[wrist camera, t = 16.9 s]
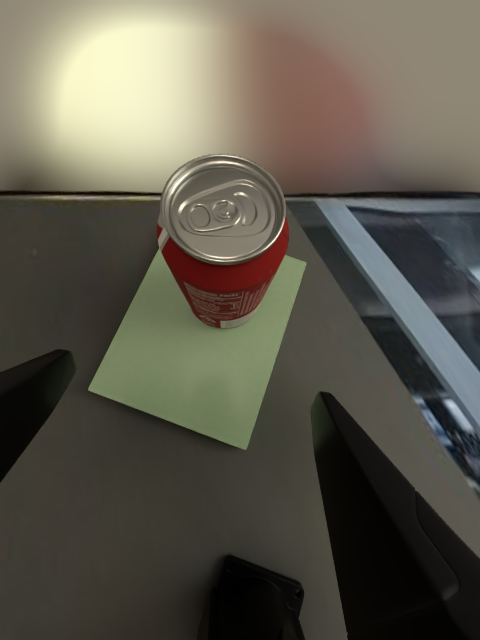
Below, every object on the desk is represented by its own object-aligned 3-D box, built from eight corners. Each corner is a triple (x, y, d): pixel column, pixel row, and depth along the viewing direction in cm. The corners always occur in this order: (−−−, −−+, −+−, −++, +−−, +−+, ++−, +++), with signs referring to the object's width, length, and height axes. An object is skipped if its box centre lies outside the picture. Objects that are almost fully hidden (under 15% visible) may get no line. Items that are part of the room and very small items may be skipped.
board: (301, 269, 25) (306, 262, 23) (244, 445, 20) (246, 450, 19) (178, 224, 25) (175, 214, 23) (96, 389, 21) (87, 390, 19)
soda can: (268, 320, 22) (320, 257, 10) (196, 338, 21) (160, 292, 9) (249, 255, 23) (275, 133, 11) (181, 269, 22) (132, 153, 10)
